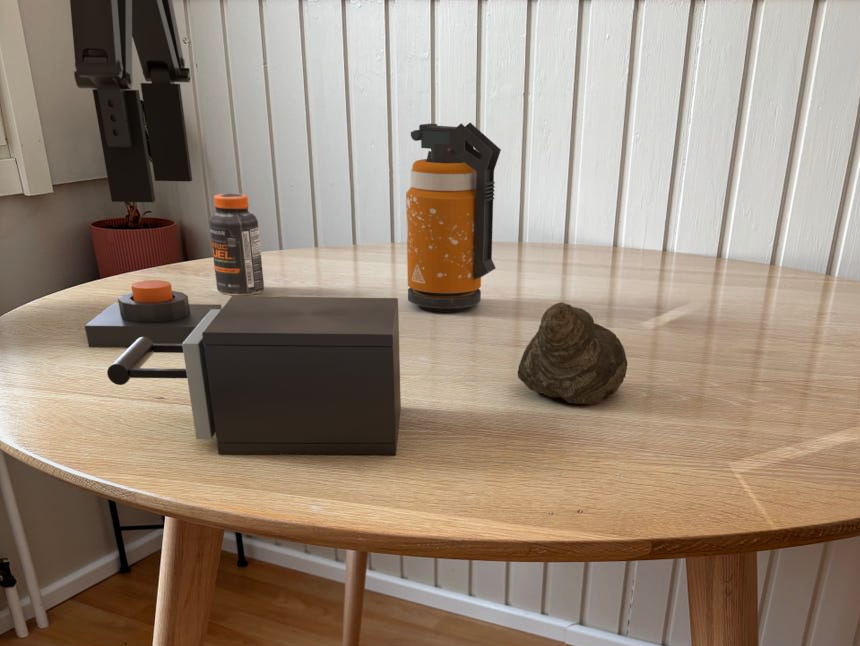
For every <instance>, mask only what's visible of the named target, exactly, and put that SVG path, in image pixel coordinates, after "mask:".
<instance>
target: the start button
mask: <svg viewBox="0 0 860 646" xmlns="http://www.w3.org/2000/svg"><path fill="white" fill-rule="evenodd" d="M130 286H131V287H130V288H131V293H133V299H134V301H137V302H161V301H168V300H171V299H173V295H172V291H173V290H172V289H173V288H172V283H171V282H170V281H168V280H167V281H166V280H160V279H159V280H158V279H152V280H151V279H150V280H140V281H136V282H133V283H132V284H131V285H130Z"/></svg>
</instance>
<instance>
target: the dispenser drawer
mask: <svg viewBox="0 0 860 646" xmlns="http://www.w3.org/2000/svg"><path fill="white" fill-rule="evenodd" d="M220 310H221V309H211V310H210V312H209V313H208V314H207V315H206V316H205V317H204V319H203V320H202V321H201V322H200V323H199V324H198V326H197V327H196V328H195V329H194V330H193V332H192V333H191V334H190V335H189V336H188V337H187V339H186V340H185V341H184V342H183V343H182V344H154V343H153V342H152V340H150V339H149V338H147V337H140V338H138V339H137V340H136V341H135V342H134V343H133V344H132V345H131V346H130V347H129V348H126V350H125V351H124V352H123V353H122V354H121V355H120V356H118V358H117V359H116V360H115V361H114V362H113V363H112V364H111V365H110V366H108V368H107V372H106V374H107V378H108V379H109V381H110V382H111V383H112V384H115V385H117V386H123V385H126V384H127V383H128V382H129V381H130V379H186V380H187V385H188V386H187V387H188V393H189V399H190V407H191V413H192V420H193V427H194V433H195V439H196V440H209V441H210V440H212V439H213V438H214V436H215V435H216V432H215V425H214V417H213V410H212V402H211V395H210V388H209V380H208V373H207V365H206V358H205V351H204V344H203V337H202V332H203V331H204V330H205V329H206V327H207V326H208V325H209V324H210V322H211V321H212V320H213V319H214V317H215V316H216V315H217V314H218V313H219V311H220ZM155 353H156V354H162V353H163V354H183V358H184V365H185V368H157V367H156V368H151V367H149V368H145V367H143V366H144V364H146V362H147V361H149V359H150V358H151V356H153V354H155ZM141 367H143V368H141Z"/></svg>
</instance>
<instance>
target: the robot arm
mask: <svg viewBox="0 0 860 646" xmlns="http://www.w3.org/2000/svg"><path fill="white" fill-rule="evenodd" d="M69 3H70V17H71V28H72V41H73V52H74V67H75V70H74V71H73V74H74V80H75V84H76V86H77V88H78V89H92V95H93V101H94V107H95V113H96V118H97V119H96V120H97V124H98V129H99V130H98V131H99V135H100V142H101V148H102V153H103V159H104V165H105V171H106V177H107V182H108V187H109V193H110V200H111V202H112V203H154V202H156V195H155V190H154V189H155V188H154V183H153V182H154V181H155V182H192V181H193V175H192V167H191V158H190V151H189V144H188V143H189V142H188V135H187V127H186V120H185V113H184V105H183V98H182V97H183V96H182V90H181V83H191V70H190V67H186V61H185V58H184V55H183V50H182V45H181V39H180V35H179V30H178V24H177V18H176V15H175V14H176V13H175V9H174V2H173V0H69ZM133 43H134V47H135V51H136V53H137V56H138V57H137V58H138V61H139V63H140V68H141V70H142V76H143V78H144V80H145V82H141V83H140V89H141V90H139V89H133ZM140 91H141V95H140ZM141 96H142V102H143V108H142V103H141ZM143 109H144V117H145V123H144V117H143ZM145 124H146V128H147V136H146V128H145ZM147 137H148V141H147ZM148 143H149V150H148ZM149 151H150V155H149ZM150 157H151V162H150ZM151 164H152V170H153V176H152V171H151ZM153 177H154V181H153Z"/></svg>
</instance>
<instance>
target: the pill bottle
mask: <svg viewBox="0 0 860 646" xmlns="http://www.w3.org/2000/svg"><path fill="white" fill-rule="evenodd" d="M248 199H249V198H248V196H247V195H246V194H243V193H218V194H215V195H214V196H213V201H214V208H215V212H214V213H213V214H212V215H211V216H210V217H209V220H208V225H209V233H210V240H211V248H212V257H213V266H214V273H215V274H214V275H215V283H216V289H217V291H218V292H219V293H220V294H222V295H227V296H254V295H257V294H260V293H262V292H263V291H264V290H265V282H264V272H263V263H262V262H263V261H262V251H261V240H260V232H259V221H258V218H257V216H256V215H254V214H253V213H251V212H249V205H250V204H249V200H248Z"/></svg>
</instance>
